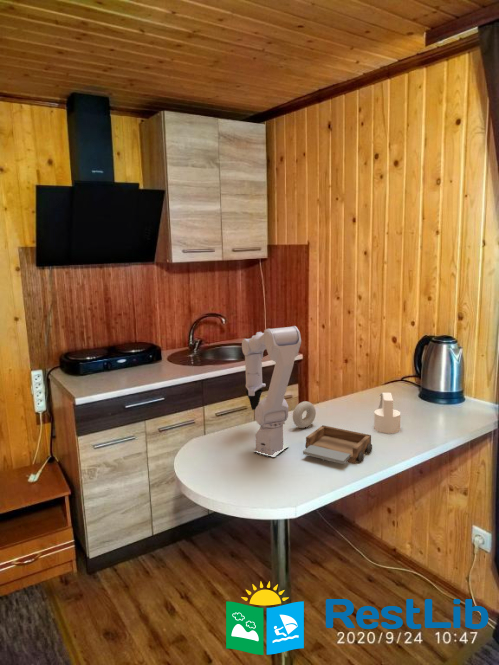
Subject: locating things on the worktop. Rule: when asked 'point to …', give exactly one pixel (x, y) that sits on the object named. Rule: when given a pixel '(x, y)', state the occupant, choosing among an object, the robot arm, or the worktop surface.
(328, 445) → the box
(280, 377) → the robot arm
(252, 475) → the worktop surface
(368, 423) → the worktop surface
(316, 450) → the tailgate
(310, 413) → the donut
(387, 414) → the cylinder with rectangular tab
